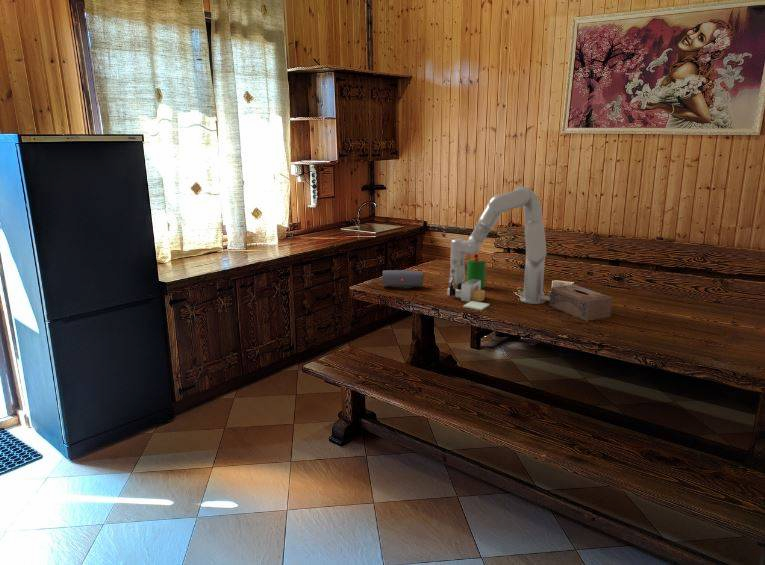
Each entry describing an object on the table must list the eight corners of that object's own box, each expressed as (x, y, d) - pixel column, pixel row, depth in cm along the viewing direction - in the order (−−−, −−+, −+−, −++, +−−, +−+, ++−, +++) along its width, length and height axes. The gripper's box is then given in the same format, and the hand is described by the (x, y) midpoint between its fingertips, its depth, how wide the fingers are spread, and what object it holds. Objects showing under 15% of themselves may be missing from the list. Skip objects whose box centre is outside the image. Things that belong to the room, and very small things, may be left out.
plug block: (484, 299, 288) (484, 290, 287) (480, 301, 284) (480, 292, 283) (475, 298, 291) (476, 289, 289) (471, 300, 287) (471, 291, 285)
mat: (489, 305, 278) (489, 304, 277) (481, 310, 270) (481, 309, 269) (471, 302, 283) (471, 300, 283) (463, 307, 275) (463, 305, 275)
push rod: (474, 298, 290) (474, 292, 289) (472, 299, 288) (472, 293, 287) (449, 294, 298) (449, 288, 297) (447, 295, 296) (447, 289, 295)
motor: (484, 285, 315) (485, 251, 310) (485, 289, 307) (487, 254, 301) (466, 284, 316) (467, 250, 311) (467, 289, 308) (468, 254, 302)
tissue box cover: (610, 317, 260) (612, 297, 257) (586, 321, 254) (588, 301, 252) (571, 303, 283) (573, 284, 280) (549, 306, 277) (551, 287, 274)
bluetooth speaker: (381, 289, 308) (381, 271, 305) (383, 284, 317) (383, 268, 314) (422, 290, 305) (422, 273, 303) (423, 285, 314) (423, 269, 312)
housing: (480, 296, 294) (481, 280, 291) (469, 302, 283) (470, 285, 281) (471, 294, 296) (472, 278, 294) (460, 300, 286) (461, 283, 284)
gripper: (456, 266, 281) (455, 298, 285) (471, 260, 294) (469, 291, 299) (443, 264, 285) (442, 296, 289) (458, 258, 299) (457, 289, 303)
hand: (456, 293), depth 294 cm, fingers open, 8 cm apart
